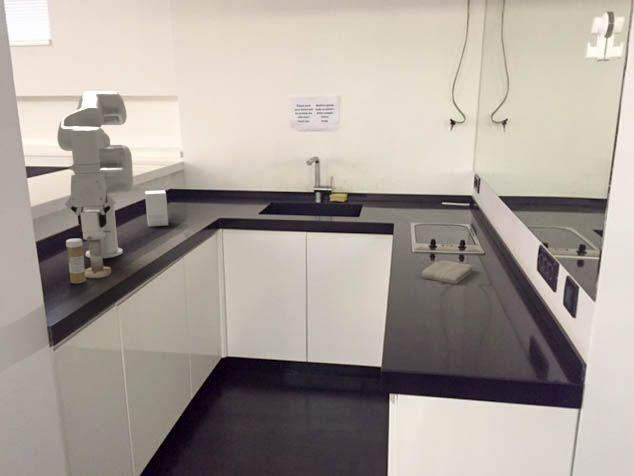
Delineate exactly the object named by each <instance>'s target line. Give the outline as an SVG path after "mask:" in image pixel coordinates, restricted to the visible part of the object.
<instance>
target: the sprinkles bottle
mask: <svg viewBox="0 0 634 476" xmlns="http://www.w3.org/2000/svg"><path fill="white" fill-rule="evenodd" d="M65 246H66V249H67V258H68V268H69V269H68V271H69V275H70V276H69V277H70V283H72V284H81V283H84V282H86V281H87V277H85V270H86V268H85V267H86V265H85V259H84V252H83V249H84V248H83V238H78V237H77V238H76V237H75V238H69V239H66V241H65Z"/></svg>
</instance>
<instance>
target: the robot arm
mask: <svg viewBox="0 0 634 476" xmlns="http://www.w3.org/2000/svg"><path fill="white" fill-rule="evenodd" d="M127 117H128V116H127V109H126V105H125V101H124V98H122V95H120V94H119V93H118V92H116V91H97V90H96V91H94V90H93V91H92V90H91V91H86V92H84V93H82V94H81V95H80V97H79V101H78V106H77V108H76V110H75V111H73V112H72V113H70V114H67V115H66V116H65V117H63V118H62V119H61V120H60V122H59V125H58V129H57V139H56V140H57V144H58V146H59V147H60V149H61V150H63V151H65V152H71V153H72V161H73V162H72V165H69V166H68V170H70V171H73V173H72V174H71V178H70V197H69V198H68V199H67V200H66V202H65V204H64V205H65V206H67V208H68V209H70V210H71V211H72V212H73V213H74V214H75V215H76V216H77V221H78V225H79V227H80V229H82V224H81V215H80V213H81V212H83V211H84V208H85V210H99V211H100V215H99V218H100V227H101V228H102V227H104V230H111V232H105V237H104V238H102V239H101V248H102V259H110V258H115V257H118V256H120V255H122V254H123V248H120V247H119V245H118V235H117V226H116V215H115V213H116V212H115V205H116V204H117V202H116V201H115V200H114V199H113V197H111V196H110V195H118V194H119V195H122V194H123V195H124V194H125V195H126V194H129V193H131V191H133V187H134V175H133V173H134V172H133V170H134V169H133V159H132V153H131V150H130V148H129V147H128V146H126V145H124V144H111V139H110V136H109V134H107V133H106V131H105V130H104V129H103V128H101V127H102V126H122V125H124V124H125V123H126V121H127ZM85 257H87V258H89V259H90V251H89V250H86V252H85Z"/></svg>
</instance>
